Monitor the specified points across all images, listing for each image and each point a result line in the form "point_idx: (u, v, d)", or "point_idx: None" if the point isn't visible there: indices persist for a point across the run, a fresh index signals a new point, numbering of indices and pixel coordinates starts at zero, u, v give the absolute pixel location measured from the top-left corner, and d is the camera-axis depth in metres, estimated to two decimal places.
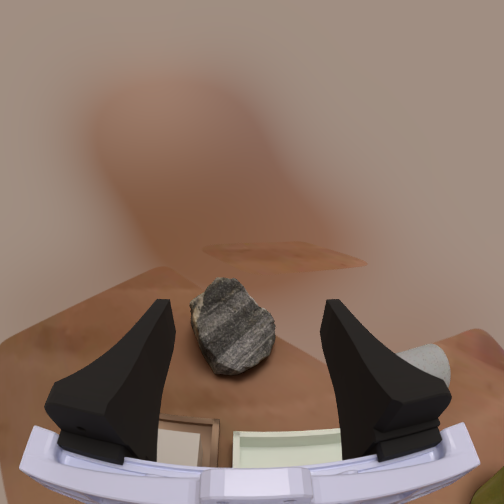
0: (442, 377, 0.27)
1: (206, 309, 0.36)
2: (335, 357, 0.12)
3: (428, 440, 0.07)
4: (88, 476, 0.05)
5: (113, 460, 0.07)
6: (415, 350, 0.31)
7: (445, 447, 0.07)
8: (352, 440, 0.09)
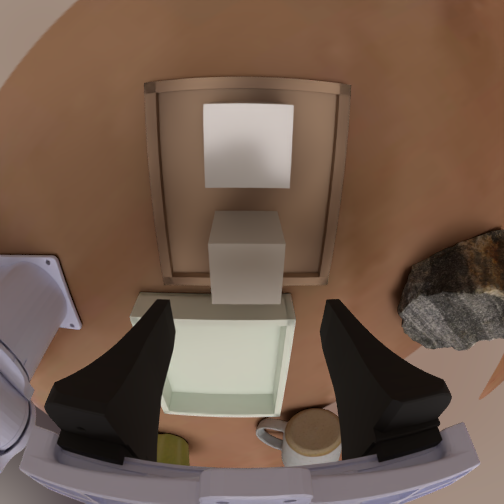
0: None
1: (498, 302, 0.16)
2: (335, 357, 0.12)
3: (428, 440, 0.07)
4: (88, 476, 0.05)
5: (113, 460, 0.07)
6: None
7: (445, 447, 0.07)
8: (352, 440, 0.09)
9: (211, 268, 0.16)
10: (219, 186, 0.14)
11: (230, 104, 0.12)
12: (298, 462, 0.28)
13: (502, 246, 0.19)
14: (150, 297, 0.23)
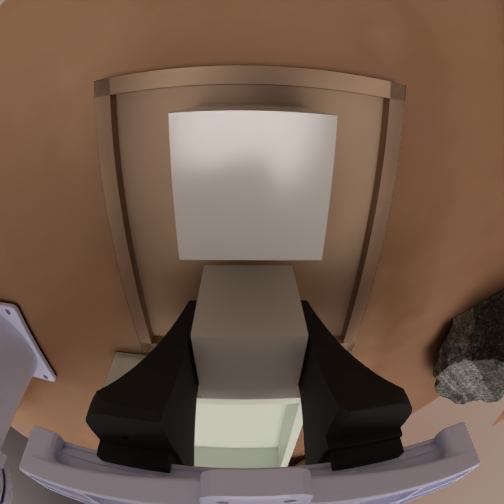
0: None
1: None
2: None
3: (388, 451, 0.07)
4: (88, 476, 0.05)
5: (113, 460, 0.07)
6: None
7: (445, 447, 0.07)
8: (311, 445, 0.09)
9: (198, 363, 0.11)
10: (203, 257, 0.08)
11: (219, 112, 0.06)
12: None
13: None
14: (128, 360, 0.17)
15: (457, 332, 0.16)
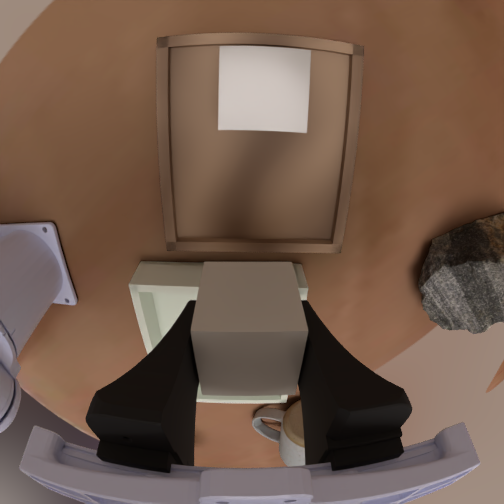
0: (289, 463, 0.29)
1: None
2: None
3: (388, 451, 0.07)
4: (88, 476, 0.05)
5: (113, 460, 0.07)
6: None
7: (445, 447, 0.07)
8: (311, 445, 0.09)
9: (198, 359, 0.11)
10: (233, 128, 0.13)
11: (247, 46, 0.11)
12: (296, 454, 0.27)
13: None
14: (151, 266, 0.21)
15: (436, 248, 0.20)
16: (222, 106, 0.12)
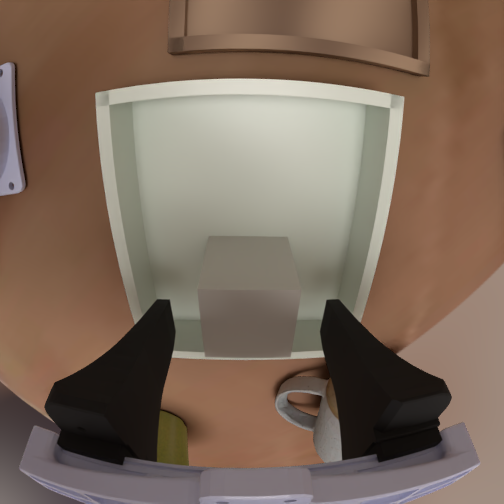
0: (332, 461, 0.19)
1: None
2: (334, 357, 0.12)
3: (428, 440, 0.07)
4: (88, 476, 0.05)
5: (113, 460, 0.07)
6: None
7: (445, 447, 0.07)
8: (352, 440, 0.09)
9: (202, 318, 0.12)
10: None
11: None
12: None
13: None
14: None
15: None
16: None
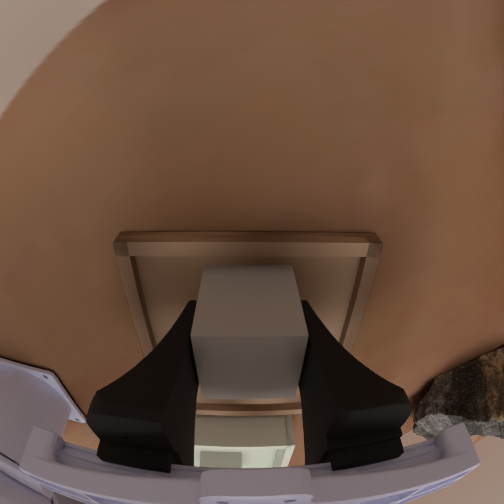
0: None
1: (503, 422, 0.14)
2: None
3: (388, 451, 0.07)
4: (88, 476, 0.05)
5: (113, 460, 0.07)
6: None
7: (445, 447, 0.07)
8: (311, 445, 0.09)
9: None
10: (217, 398, 0.12)
11: (226, 337, 0.10)
12: None
13: None
14: None
15: (436, 390, 0.19)
16: (203, 384, 0.11)
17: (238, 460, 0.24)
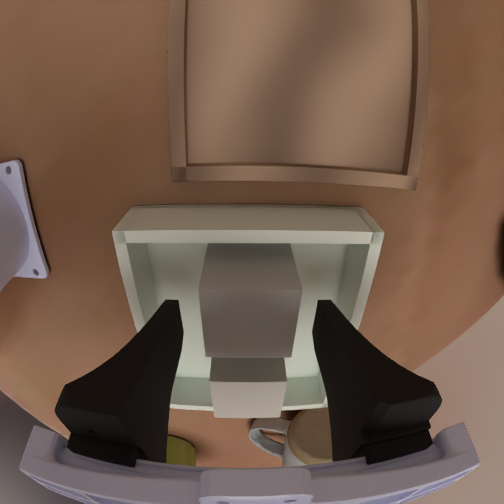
0: None
1: None
2: (325, 358, 0.12)
3: (418, 443, 0.07)
4: (88, 476, 0.05)
5: (113, 460, 0.07)
6: None
7: (445, 447, 0.07)
8: (342, 442, 0.09)
9: (213, 396, 0.15)
10: (220, 356, 0.13)
11: (229, 290, 0.12)
12: None
13: None
14: (148, 210, 0.14)
15: None
16: (207, 341, 0.13)
17: None
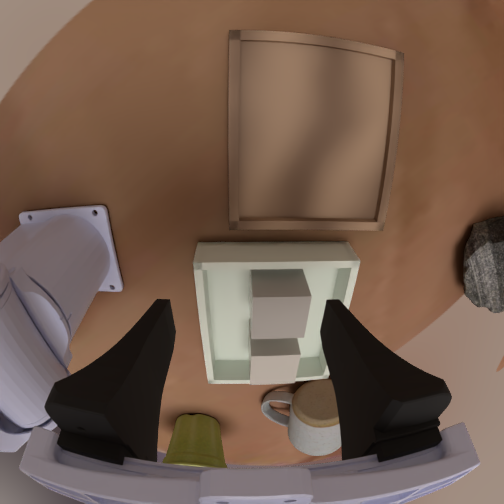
0: (299, 446, 0.30)
1: None
2: (335, 357, 0.12)
3: (428, 440, 0.07)
4: (88, 476, 0.05)
5: (113, 460, 0.07)
6: (340, 437, 0.29)
7: (445, 447, 0.07)
8: (352, 440, 0.09)
9: (251, 368, 0.24)
10: (260, 338, 0.22)
11: (270, 297, 0.20)
12: (306, 435, 0.28)
13: None
14: (210, 246, 0.23)
15: (478, 230, 0.22)
16: (254, 328, 0.21)
17: None
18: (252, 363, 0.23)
